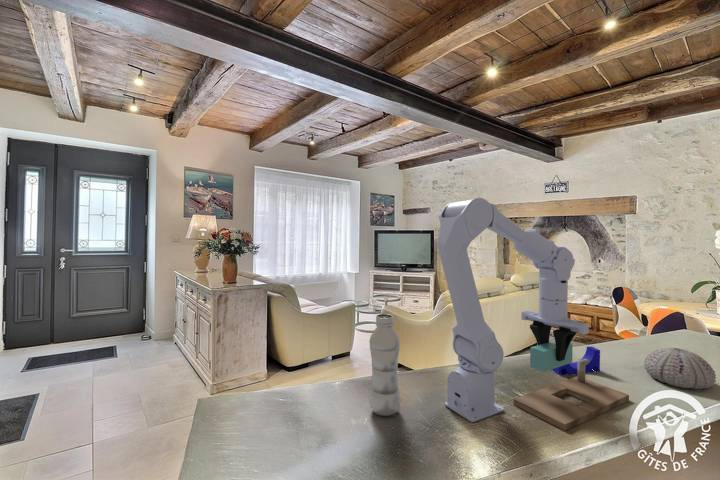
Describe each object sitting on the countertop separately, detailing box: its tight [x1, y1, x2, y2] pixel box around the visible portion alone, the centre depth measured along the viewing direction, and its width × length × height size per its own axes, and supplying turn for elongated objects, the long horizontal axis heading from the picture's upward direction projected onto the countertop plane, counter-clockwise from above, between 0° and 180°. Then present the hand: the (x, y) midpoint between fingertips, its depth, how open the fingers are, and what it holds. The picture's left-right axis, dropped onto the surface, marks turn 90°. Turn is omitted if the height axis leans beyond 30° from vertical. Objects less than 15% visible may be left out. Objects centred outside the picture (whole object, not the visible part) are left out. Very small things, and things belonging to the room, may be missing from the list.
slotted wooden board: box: [513, 358, 630, 431], centre depth 75 cm, size 25×11×6 cm, turn 119°
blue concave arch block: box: [551, 346, 601, 376], centre depth 91 cm, size 12×4×6 cm, turn 91°
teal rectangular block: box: [529, 340, 573, 373], centre depth 78 cm, size 11×3×4 cm, turn 119°
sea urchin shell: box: [643, 347, 717, 390], centre depth 85 cm, size 13×14×8 cm
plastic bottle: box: [369, 313, 401, 417], centre depth 71 cm, size 6×7×20 cm
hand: (552, 357), depth 78 cm, fingers closed on teal rectangular block, 3 cm apart
